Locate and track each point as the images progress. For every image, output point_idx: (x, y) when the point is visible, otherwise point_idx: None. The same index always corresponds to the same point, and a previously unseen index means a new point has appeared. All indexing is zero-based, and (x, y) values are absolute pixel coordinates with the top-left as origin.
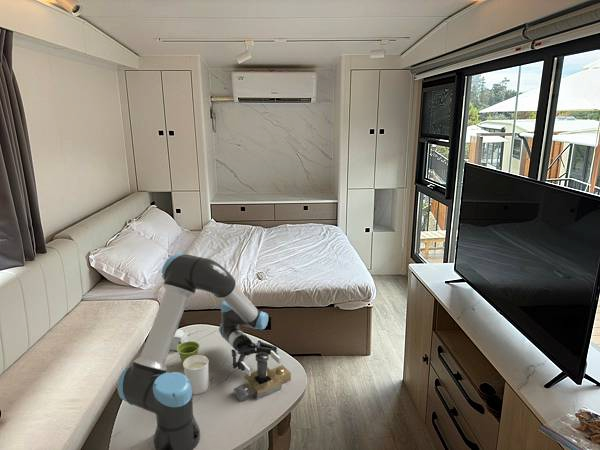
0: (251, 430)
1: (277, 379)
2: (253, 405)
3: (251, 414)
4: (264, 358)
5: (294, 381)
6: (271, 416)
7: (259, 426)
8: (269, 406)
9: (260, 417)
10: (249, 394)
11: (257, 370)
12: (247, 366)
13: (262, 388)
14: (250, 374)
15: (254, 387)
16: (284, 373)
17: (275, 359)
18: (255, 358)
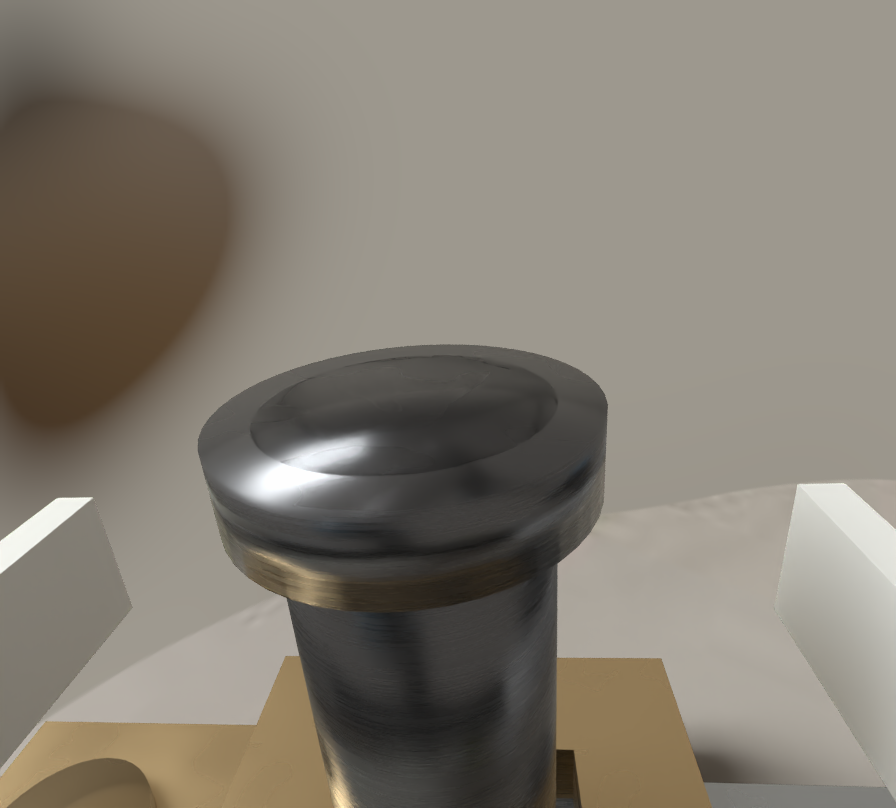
0: (785, 508)
1: (297, 701)
2: (727, 687)
3: (767, 607)
4: (424, 355)
5: None
6: (602, 533)
7: (718, 510)
8: (571, 605)
9: (690, 556)
10: (771, 788)
11: (554, 761)
12: (890, 575)
13: (576, 664)
14: (782, 590)
15: (683, 743)
16: (110, 754)
17: (23, 691)
18: (595, 503)
